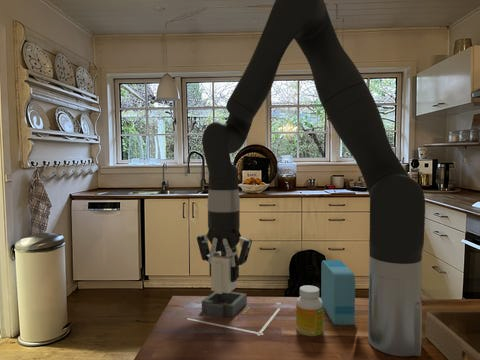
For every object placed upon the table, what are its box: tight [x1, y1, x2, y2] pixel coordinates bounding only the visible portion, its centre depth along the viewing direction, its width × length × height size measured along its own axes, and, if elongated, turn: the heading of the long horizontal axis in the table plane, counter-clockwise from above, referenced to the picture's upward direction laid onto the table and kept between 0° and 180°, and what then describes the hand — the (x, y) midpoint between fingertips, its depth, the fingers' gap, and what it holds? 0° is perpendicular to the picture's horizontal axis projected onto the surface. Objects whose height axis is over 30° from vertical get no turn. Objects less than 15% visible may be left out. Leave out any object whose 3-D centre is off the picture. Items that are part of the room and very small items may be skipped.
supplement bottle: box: [295, 285, 324, 337], centre depth 72 cm, size 5×5×10 cm
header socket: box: [201, 291, 251, 319], centre depth 83 cm, size 10×9×2 cm
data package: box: [320, 259, 356, 326], centre depth 80 cm, size 12×4×12 cm, turn 0°
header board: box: [186, 307, 281, 337], centre depth 80 cm, size 18×14×1 cm
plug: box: [210, 251, 238, 294], centre depth 83 cm, size 4×6×10 cm
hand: (223, 279), depth 83 cm, fingers closed on plug, 4 cm apart
